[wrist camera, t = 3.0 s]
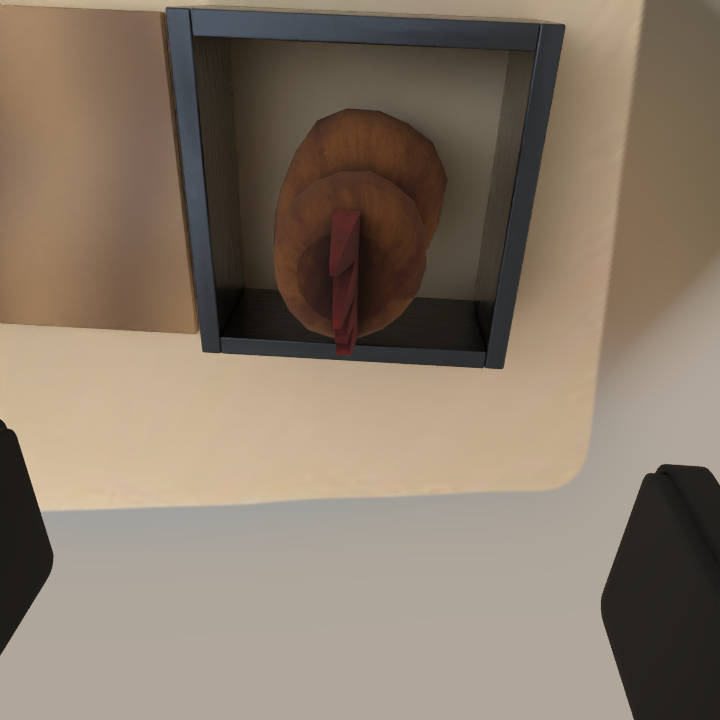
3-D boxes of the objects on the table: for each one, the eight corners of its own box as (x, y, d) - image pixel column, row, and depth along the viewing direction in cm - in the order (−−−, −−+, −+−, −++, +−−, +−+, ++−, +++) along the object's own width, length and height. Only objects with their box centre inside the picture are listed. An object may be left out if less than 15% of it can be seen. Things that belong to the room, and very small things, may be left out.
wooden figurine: (328, 71, 25) (255, 152, 12) (458, 129, 26) (523, 264, 13) (276, 223, 28) (174, 416, 15) (392, 269, 29) (391, 490, 16)
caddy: (229, 301, 30) (202, 352, 26) (206, 5, 24) (164, 6, 19) (488, 316, 30) (503, 370, 26) (535, 18, 23) (566, 24, 19)
